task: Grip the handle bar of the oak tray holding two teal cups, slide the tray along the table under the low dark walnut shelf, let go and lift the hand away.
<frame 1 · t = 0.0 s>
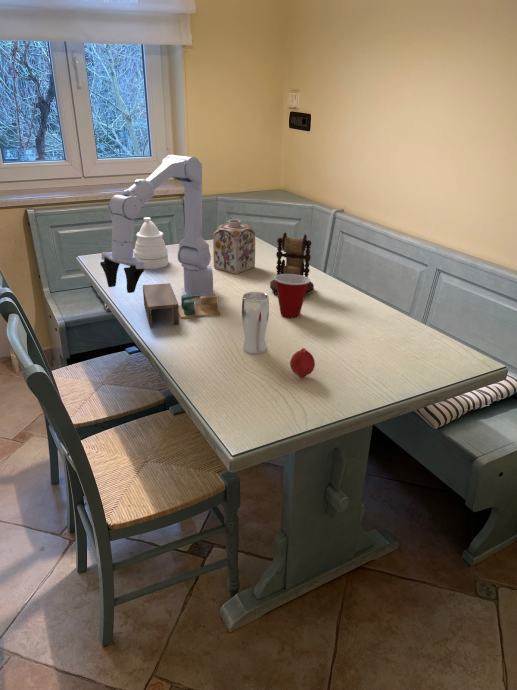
hand: (121, 289, 148), 11 cm above the table, tool pointing down, fingers open, 7 cm apart
decorative jar: (234, 268, 201), on the table
plastic cup: (290, 315, 161), on the table
onion: (301, 377, 127), on the table
tray: (197, 312, 162), on the table
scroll: (291, 292, 179), on the table
beer glass: (254, 349, 140), on the table
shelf: (161, 314, 159), on the table
honey pot: (151, 264, 203), on the table
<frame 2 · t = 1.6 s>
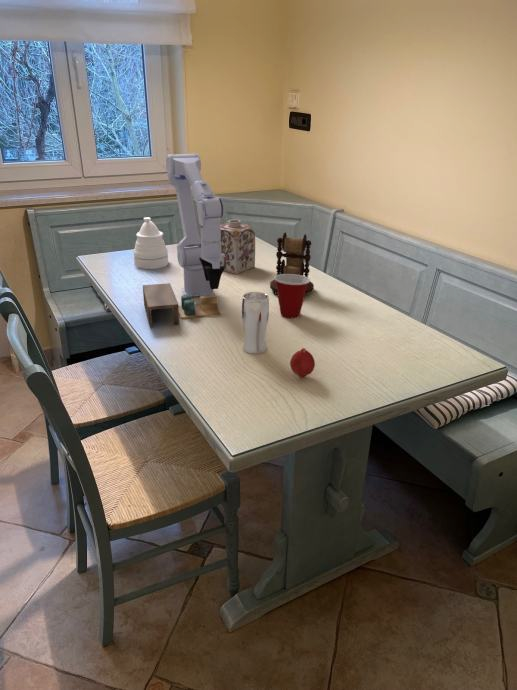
hand: (211, 284, 159), 8 cm above the table, tool pointing down, fingers open, 7 cm apart
nothing on the table moved.
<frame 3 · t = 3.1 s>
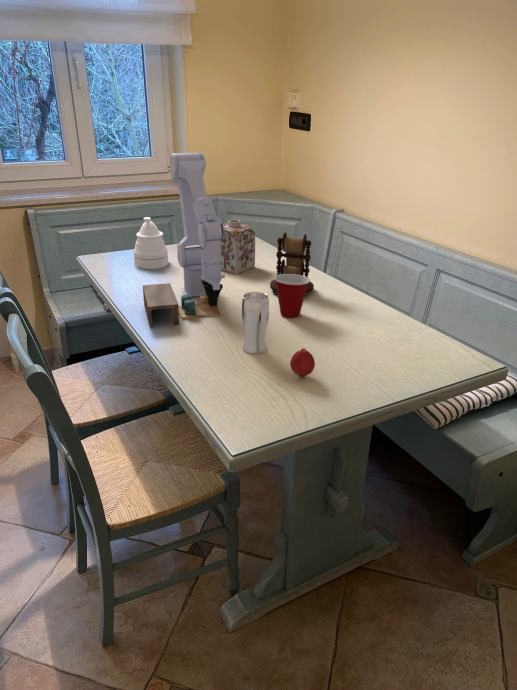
hand: (212, 304, 162), 2 cm above the table, tool pointing down, fingers closed, pressing on tray
tray: (198, 312, 162), on the table, touching gripper
everything else where it was.
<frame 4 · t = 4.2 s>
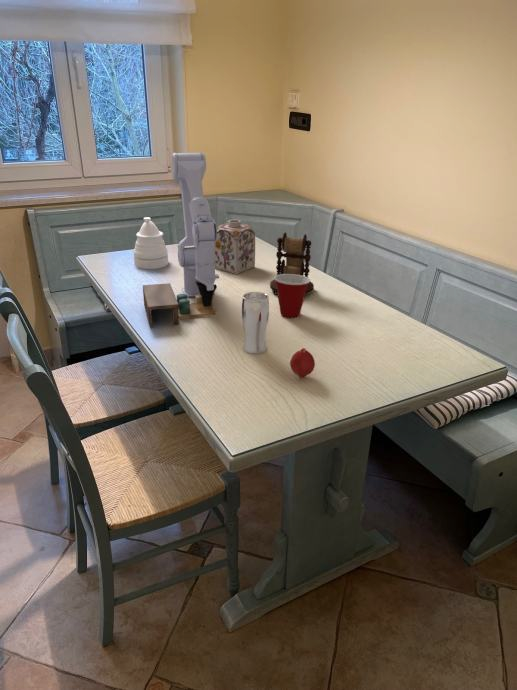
hand: (206, 304, 162), 2 cm above the table, tool pointing down, fingers closed on tray, 2 cm apart
tray: (193, 312, 162), on the table, touching gripper
everything else where it was.
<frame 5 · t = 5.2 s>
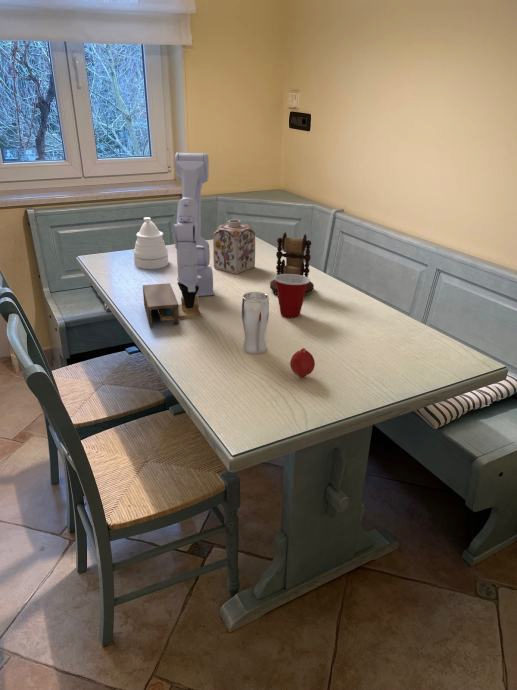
hand: (188, 306, 160), 2 cm above the table, tool pointing down, fingers closed on tray, 2 cm apart
tray: (179, 313, 160), on the table, touching gripper
everything else where it was.
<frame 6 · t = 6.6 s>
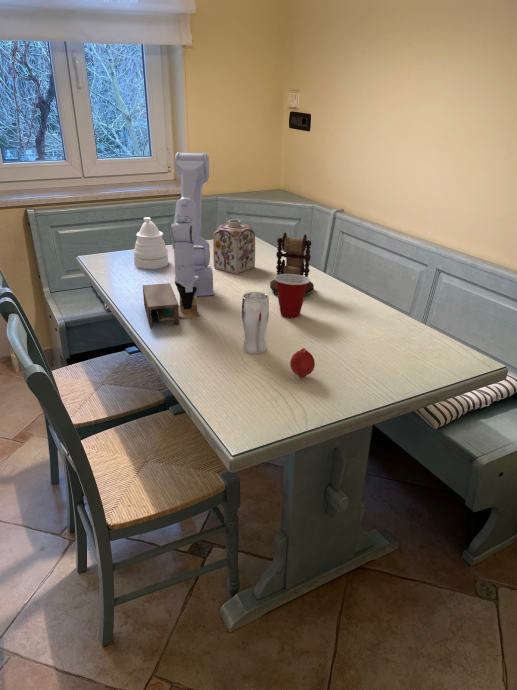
hand: (186, 306, 160), 2 cm above the table, tool pointing down, fingers open, 3 cm apart
tray: (177, 314, 160), on the table
everything else where it was.
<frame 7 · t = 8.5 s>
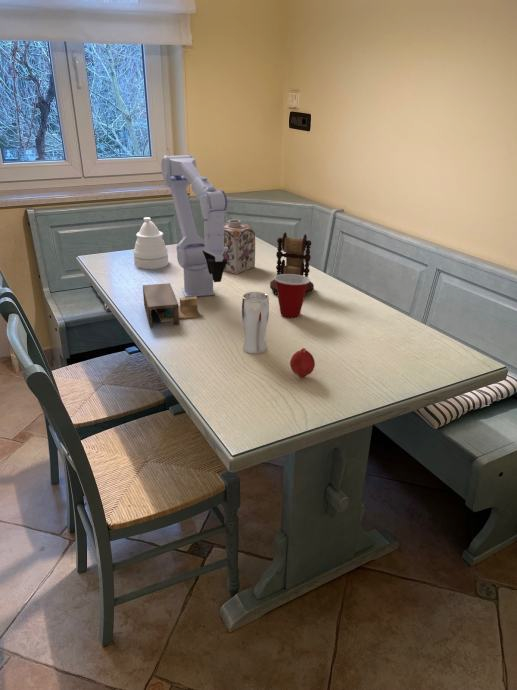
hand: (214, 277, 160), 10 cm above the table, tool pointing down, fingers open, 7 cm apart
nothing on the table moved.
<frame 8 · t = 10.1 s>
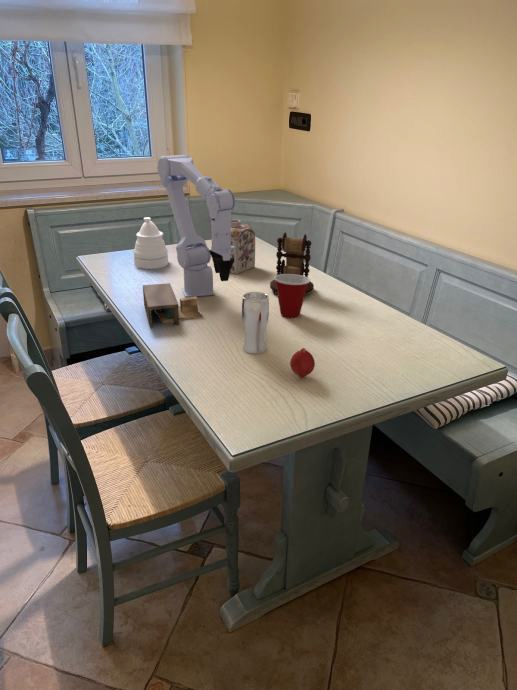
hand: (221, 276, 161), 10 cm above the table, tool pointing down, fingers open, 7 cm apart
nothing on the table moved.
at the end: tray 2.2 cm from the target spot, on the table; tray tilted 0°; the gripper is holding nothing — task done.
